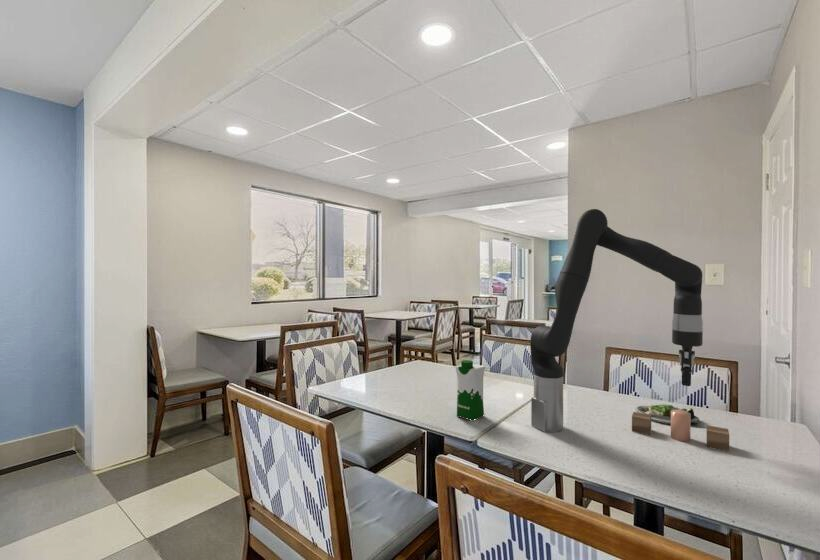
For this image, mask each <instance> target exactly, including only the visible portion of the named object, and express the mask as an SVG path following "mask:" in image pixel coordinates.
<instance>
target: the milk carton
mask: <svg viewBox="0 0 820 560" xmlns="http://www.w3.org/2000/svg"><path fill="white" fill-rule="evenodd" d="M485 369H486V366H485V365H480V364H476V363H473V360H468V359H465V360H464V359H463V360H461V364H460V365H459V364H458V365H456V366H455V373H456V397H457V398H456V400H457V401H456V417H457V416H461V417H464V418H468V419H471V420H474V419H477V418H479V417H481V416H483V415H484V416H485V411H484V409H485V408H484V376H485V371H486V370H485ZM484 416H483V417H484ZM481 418H482V417H481ZM479 419H480V418H479ZM477 420H478V419H477Z"/></svg>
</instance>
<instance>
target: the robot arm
mask: <svg viewBox="0 0 820 560" xmlns="http://www.w3.org/2000/svg"><path fill="white" fill-rule="evenodd" d="M608 223H609V222H608V217H607V216H606V214H605V213H604V212H603V211H602V210H600V209H597V208H592V209H591V208H590V209H588V210H586V211H585V212H583V213H582V214H581V215H580V216H579V218H578V220H577V224H576V228H575V234H574V236H573V240H572V244H571V247H570V249H569V251H568V253H567V254H566V258H565V259H564V262H563V265H562V267H561V270H560V271H559V274H558V276H557V279H556V283H555V285H554V295H555V302H556V303H555V304H556V310H555V316H554V318H553V322H552V324H551V325H549V326H548V325H538V326H536V327H535V328H534V329H533V331H532V332H531V335H530V342H529V343H530V363H531V366H532V368H533V369H532V370H533V396H532V397H531V398H530V399H531V403H530V404H531V405H530V406H531V409H530V410H531V411H530V412H531V413H530V414H531V416H530V417H531V419H530V420H531V427H534V428H536V429H537V430H540V431H542V432H544V433H546V432H550V433H555V432H557V433H558V432H561V431H563V430H564V368H563V367H562V366H561V364H560V363H559V362H558V361H557V359H556V357H557V358H558V357H561V356H563V354H565V353H566V351H567V350H568V347H569V345H570V342H571V337H572V335H573V334H572V333H573V329H574V326H575V325H574V324H575V320H576V319H577V314H578V312H579V309H580V308H579V307H580V304H581V302H582V299H583V296H584V293H585V292H586V289H587V286H588V283H589V279H590V276H591V273H592V267H593V260H594V254H595V250H596V248H597V246H599V247H601V248H605V249H607V250H610V251H612V252H615V253H617V254H620V255H621V256H624V257H626V258H627V259H630V260H632V261H634V262H636V263H638V264H640V265H642V266H644V267H646V268H647V269H649V270H651V271H654V272H656V273H659V274H660V275H662V276H664V277H665V278H667V279H669V280H670V281H673V282H674V292H675V293H674V294H675V295H674V297H673V298H674V299H673V315H672V323H671V325H672V326H671V328H672V329H671V332H672V333H671V342H672V344H673V345H676V346H681V349H679V350H678V358H679V366H680V372H681V385H682V386H685V387H691V385H692V373H693V367H695V366H694V365H695V361H694V359H695V358H696V352H695V350H693V349H694V348H693V347H697V348H698V347H702V346H703V341H704V340H703V335H704V334H703V332H704V330H703V329H704V328H703V325H704V323H703V321H704V320H703V303H702V301H703V300H702V288H703V287H702V285H703V271H702V269H701V268H700V267H699V266H698V265H696V264H694V263H692V262H690V261H687V260H685V259H684V258H681V257H678V256H676V255H673V254H672V253H670V252H669V251H667V250H665V249H663V248H662V247H659V246H658V245H655V244H653V243H650V242H649V241H645V240H642V239H638V238H632V237H629V236H626V235H623V234H620V233H619V232H617V231H615V230H613V229H612V228H610V226H609V225H608Z"/></svg>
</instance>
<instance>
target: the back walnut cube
mask: <svg viewBox="0 0 820 560" xmlns="http://www.w3.org/2000/svg"><path fill="white" fill-rule="evenodd" d="M631 432H632V433H633V432H634V433H637V434H638V433H639V434H644V435H648V436H649V435H651V432H652V420H651V415H650V414H649V413H647V414H644V413H639V412H637V411H633V413H632V414H631Z"/></svg>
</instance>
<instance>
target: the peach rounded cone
mask: <svg viewBox="0 0 820 560" xmlns="http://www.w3.org/2000/svg"><path fill="white" fill-rule="evenodd" d="M691 430H692V429H691V414H690V413H689V412H686V411H683V410H671V424H670V438H671V439H673V440H676V441H678V442H682V443H689V442H691Z"/></svg>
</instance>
